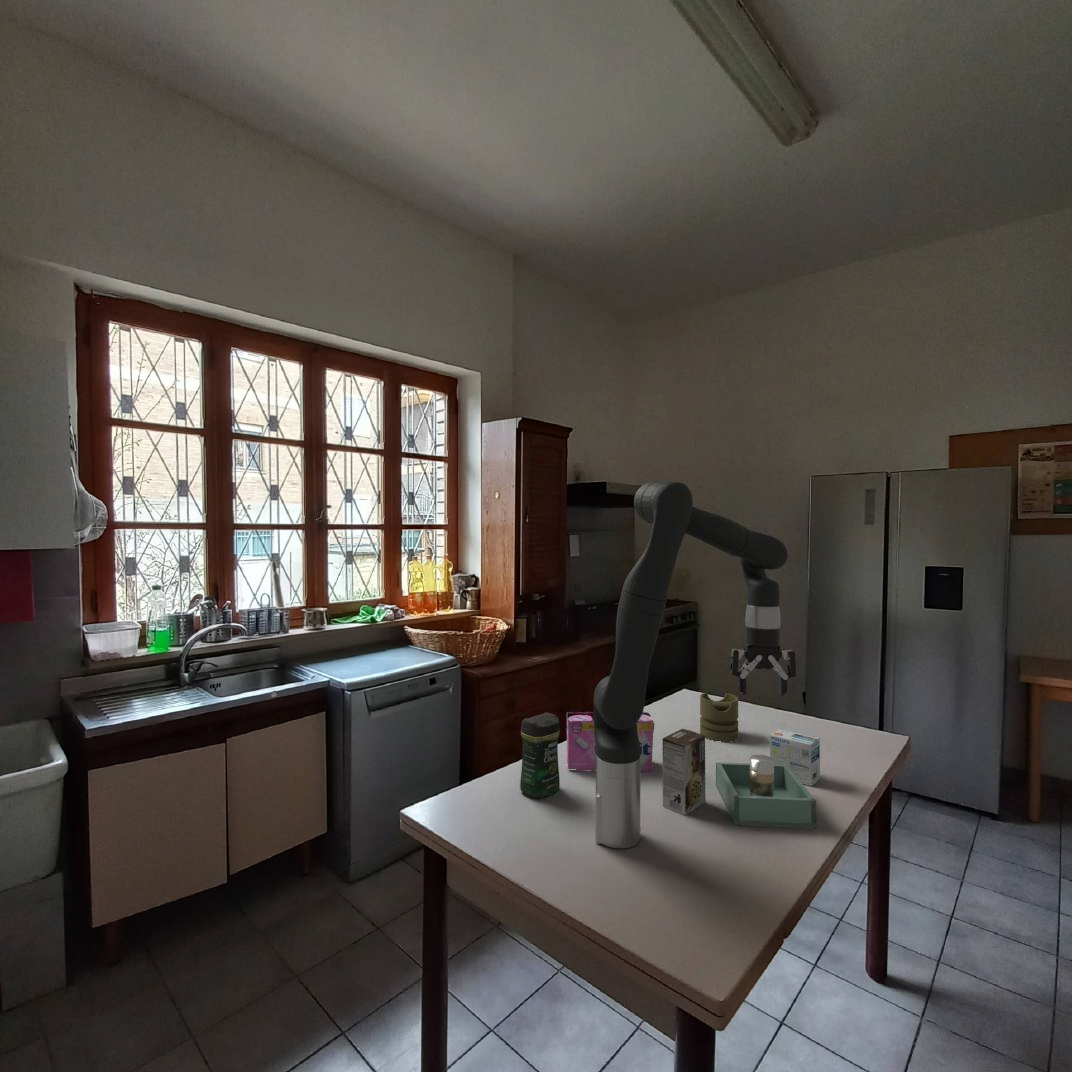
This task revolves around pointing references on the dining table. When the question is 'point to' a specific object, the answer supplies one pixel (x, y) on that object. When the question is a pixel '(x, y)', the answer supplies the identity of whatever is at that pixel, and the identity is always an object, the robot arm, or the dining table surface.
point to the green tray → (765, 798)
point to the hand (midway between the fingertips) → (762, 694)
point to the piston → (719, 718)
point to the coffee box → (683, 771)
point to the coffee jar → (540, 755)
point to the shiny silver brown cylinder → (761, 776)
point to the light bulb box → (797, 754)
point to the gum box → (583, 741)
